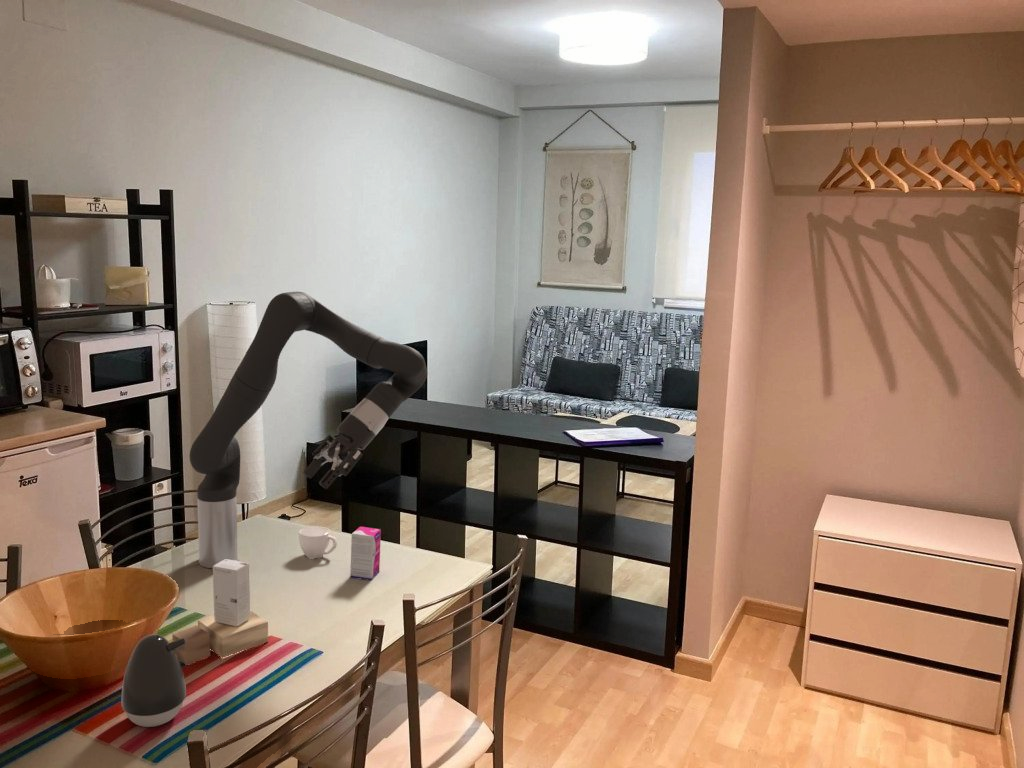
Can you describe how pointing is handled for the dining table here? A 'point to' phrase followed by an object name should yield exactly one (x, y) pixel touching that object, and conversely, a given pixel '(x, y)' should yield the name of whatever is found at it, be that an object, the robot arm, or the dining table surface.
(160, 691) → the pump dispenser
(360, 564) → the supplement box
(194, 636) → the tan wooden cube
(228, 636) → the beech block
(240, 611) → the skincare box
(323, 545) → the cup
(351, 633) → the dining table surface
